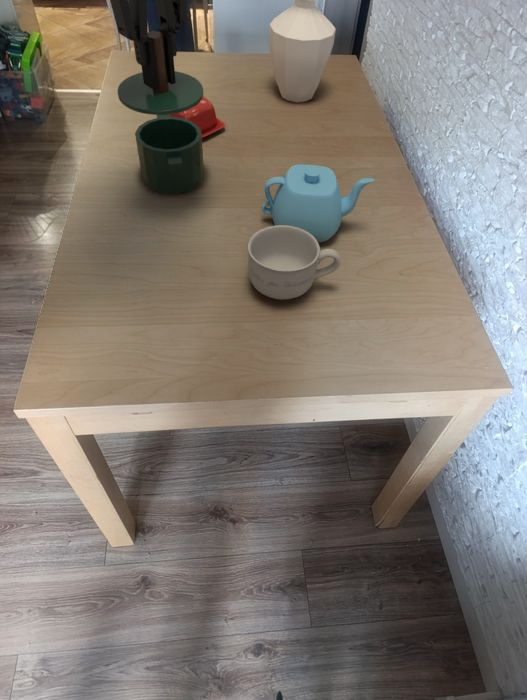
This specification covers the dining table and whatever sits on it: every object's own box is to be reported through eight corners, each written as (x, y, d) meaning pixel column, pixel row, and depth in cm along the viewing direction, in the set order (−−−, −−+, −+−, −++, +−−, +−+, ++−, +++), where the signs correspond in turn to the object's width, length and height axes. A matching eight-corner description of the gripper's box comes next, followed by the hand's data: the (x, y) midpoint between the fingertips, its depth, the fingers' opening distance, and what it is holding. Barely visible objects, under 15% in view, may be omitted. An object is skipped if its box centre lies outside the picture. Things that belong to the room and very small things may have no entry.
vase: (327, 110, 114) (347, -21, 95) (265, 106, 114) (272, -26, 94) (324, 81, 123) (342, -45, 103) (266, 77, 123) (273, -49, 103)
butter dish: (229, 130, 107) (228, 89, 100) (188, 150, 102) (184, 109, 95) (193, 109, 112) (190, 69, 105) (152, 127, 106) (146, 86, 99)
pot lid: (121, 122, 72) (109, 57, 65) (116, 80, 79) (105, 18, 72) (210, 115, 74) (207, 52, 67) (196, 75, 82) (193, 14, 75)
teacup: (238, 301, 77) (239, 262, 71) (255, 255, 84) (258, 216, 77) (327, 320, 76) (336, 282, 69) (338, 272, 82) (346, 233, 76)
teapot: (377, 199, 77) (261, 189, 77) (363, 252, 86) (258, 243, 86) (372, 154, 85) (266, 145, 85) (360, 206, 93) (263, 198, 93)
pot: (147, 205, 90) (140, 163, 84) (137, 153, 100) (131, 111, 93) (210, 198, 92) (209, 156, 86) (195, 148, 102) (193, 107, 96)
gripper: (93, -117, 51) (130, 109, 70) (209, -132, 58) (215, 77, 77) (55, -131, 55) (101, 89, 73) (170, -144, 61) (185, 60, 80)
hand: (159, 83), depth 75 cm, fingers closed on pot lid, 2 cm apart
